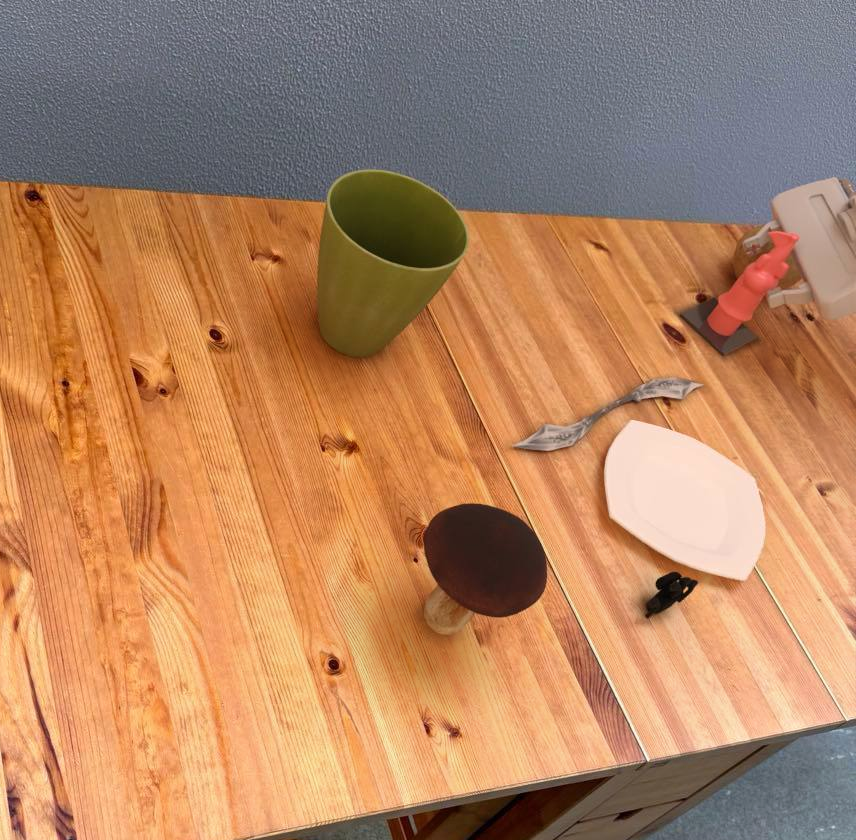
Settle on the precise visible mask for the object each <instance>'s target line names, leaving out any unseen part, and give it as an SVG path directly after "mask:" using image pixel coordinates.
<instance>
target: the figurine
mask: <svg viewBox="0 0 856 840" xmlns="http://www.w3.org/2000/svg"><path fill="white" fill-rule="evenodd" d="M768 234H769V235H770V236H771V238H772V240H773V243H774V245H775V248H773V249H772V250H771V251H770V252H769V253H768V254H763V255H762V256H760V257H759V258H758V259H757V260H756V262H754V263H751V264H750V265H748V266H747V267H746V269H745V270H744V273H743V274H742V275H741V276H740V277H739V278H738V279H737V280H736V281H735V282H734V283H733V285H732V286H731V288H730V289H729V290H728V291H727V292H724V293H721V294H720V295H719V296H718V299H717V301H718V303H719V304H718V305H717V306H716V308H715V309H714V310H713V311H712V313H711V314H710V315H709V316H708V318H707V321H708V324H709V326H710V327H711V328H712V329H713V330H714V331H715V332H717V333H719V334H721V335H724V336H730V335H732V334H733V333H734V332H735V331H736V329H737V328H738V327H739V326H740V325H741V323H742V324H743V323H744V322H748V321H750V320H752V318H753V316H754V311H755V310H756V309H757V308H758V306H759V305H760V304H761V302H762V300H763V299H764V297H766V296H765V293H766V291H768V290H773V289H774V288H776V287H777V285H778V279H781V278H783V277H784V276H785V274H786V273H787V271H788V270H789V265H788V264H787V263H785V260H786V259H787V258H788V256H789V254H790V253H791V251H792V249H793V247H794V245H795V243H796V242H797V241H798V240H799V239H800V238H799V236H798V235H797V234H788V233H785V232H781V231H772V232H768Z"/></svg>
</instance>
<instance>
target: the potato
mask: <svg viewBox="0 0 856 840" xmlns="http://www.w3.org/2000/svg"><path fill="white" fill-rule="evenodd" d="M765 225H766V224H764V225H758V226H755V227H754V228H752V229H750V230H748V231H746V232H745V233H743V235H741V237H740V238H739V239H738V240H737V242H736V245H735V249H734V253H733V269H734V274H735V278H736V279H737V280H738V278H739V277H740V276H741V275H742V274H743V273H744V270H745V269H746V267H747V266H748V265H750V264H751V263H754V262H756V260H757V259H758V258H759V257H760V256H762V255H763V254H768V253H769V252H770V251H771V250H772V249H773V248H775V245H774V243H773V240H772V238H771V239H770V240H769V241H768V242H767V243H766V244H764V245H763V246H762V247H761V251H762V252H761V253H759V254H754V255H753V256H751V257H748V256H747V255H746V253H745V251H744V248H743V244H742V243H743V241H744V240H746V239H748V238H751V237H753V236H756V234H757V233H758V232H759V231H760V230H761V229H762V228H763V227H764V226H765ZM785 263H787V264H788V265H789V270H788V271H787V273H786V274H785V276H784V277H783V278H781V279H778V285H777V287H778V286H780V288H781V290H784V289H786V288H791V287H792V286H794V285H796V284H797V283H798V282H800V281H801V280H803V279H802V277H801V275H800V273H799V271H798V269H797V267H796V264H795V262H794V260H793V258H792V256H791V254H789V256H788V258H787V259H786V260H785Z"/></svg>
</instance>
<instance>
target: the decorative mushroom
mask: <svg viewBox="0 0 856 840" xmlns="http://www.w3.org/2000/svg"><path fill="white" fill-rule="evenodd" d="M423 552H424V555H425V561H426V564H427V566H428V569H429V572H430V574H431V576H432V577H433V579H434V581H435V582H436V586H435V587H434V588H433V590H432V591H431V592H430V593H429V595H428V596H427V598H426V600H425V604H424V609H423V616H424V620H425V622H426V624H427V626H428V627H429V629H431V631H432V632H434V633H436V634H438V635H442V636H446V635H447V636H448V635H449V636H450V635H453V634H454V635H455V634H456V633H458V632H460V631H461V630H463V629H464V628H465V627H466V626H467V625H468V623H469V622H470V621H471V620H472V619H473V618H474V616H475V614H476V615H480V616H485V617H490V618H497V619H498V618H499V619H500V618H501V619H502V618H508V617H512V616H514V615H518V614H519V613H522V612H524V611H525V610H527V609H529V608H530V607H532V606H534V605H535V604H536V603H537V602H538V601H539V600H540V599H541V598H542V595H543V594H544V592H545V590H546V587H547V582H548V562H547V556H546V553H545V550H544V547H543V543H542V542H541V541H540V539H539V537H538V536H537V534H536V533H535V532H534V530H533V529H532V527H531V526H529V525H528V524H527V522H526V521H524V520H523V519H522V518H520V517H519V516H517V515H515V514H514V513H512V512H509V511H507V510H505V509H502V508H499V507H497V506H493V505H489V504H484V503H476V502H475V503H473V502H472V503H461V504H456V505H453V506H449V507H446V508H444V509H442V510H441V511H439V512H438V513H436V515H434V516H433V517H432V518H431V519H430V521H429V523H428V525H427V527H426V530H425V532H424V536H423Z"/></svg>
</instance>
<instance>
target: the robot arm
mask: <svg viewBox="0 0 856 840" xmlns="http://www.w3.org/2000/svg"><path fill="white" fill-rule="evenodd" d="M769 205H770V210H771V214H772V219H773V220H771V221H769V222H767V223H765V224H764V225H765V226H764V227H763V228H762V229H761V230H760V231H759V232H758V233H757V234H756V236H753V237H751V238H748V239H746V240H744V241H743V243H742V244H743V248H744V251H745V253H746V255H747V256H748V257H751V256H753V255H754V254H759V253H761V252H762V251H761V247H762V246H763V245H764V244H766V243H767V242H768V241H769V240H770V239H771V236H770V235H769V234H768V232H772V231H781V232H785V233H788V234H797V235H798V236H799V238H800V239H799V240H798V241H797V242H796V243H795V245H794V247H793V249H792V251H791V253H790V254H791V256H792V258H793V260H794V262H795V264H796V267H797V269H798V271H799V273H800V275H801V277H802V279H801V280H802V281H803V283H800V284H798V286H797V288H796V289H795V288H794V289H781V288H780V286H778V287H776V288H774V289H773V290H768V291H766V293H765V296H764V297H765V300H766V302H767V304H768V306H769V308H770V309H774V308H777V307H780V306H782V305H796V306H797V305H798V306H799V305H800V306H803V305H806V304H809V303H812V302H813V304H814V305H815V307H816V310H817V312H818V314H819V316H820V318H821V319H822V320H827V321H838V320H840V319H844V318H846V317H849V316H851V315H854V314H856V191H855V188H854V186H853V183H852V182H851V180H849V179H844V178H841V177H836V176H833V177H829V178H826V179H821V180H816V181H812V182H808V183H806V184H802V185H800V186H799V185H798V186H797V187H793V188H791V189H788V190H785V191H782V192H780V193H778V194H776V195H775V196H774V197H773V199H772V200H771V201H770V204H769Z"/></svg>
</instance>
